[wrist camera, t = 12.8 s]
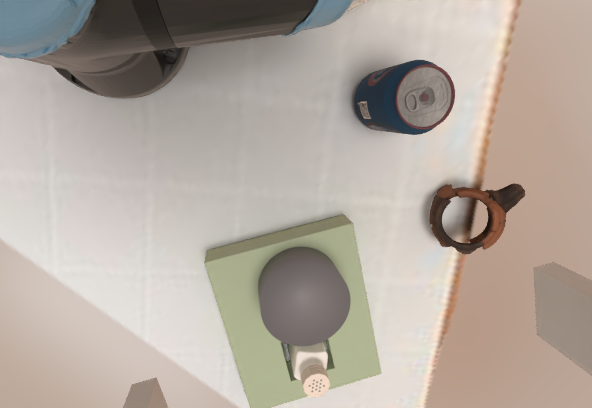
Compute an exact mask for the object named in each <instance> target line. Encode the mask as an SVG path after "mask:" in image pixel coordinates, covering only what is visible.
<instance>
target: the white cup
mask: <svg viewBox="0 0 592 408" xmlns="http://www.w3.org/2000/svg"><path fill="white" fill-rule="evenodd" d="M366 1H368V0H353V2H352V3H351V5H350V7H349V8H348V9H347V10H346V11H349V10H351V9H353V8H355V7H357V6H359V5H361V4H363V3H365V2H366Z"/></svg>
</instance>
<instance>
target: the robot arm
mask: <svg viewBox="0 0 592 408" xmlns="http://www.w3.org/2000/svg"><path fill="white" fill-rule="evenodd" d="M352 2H353V0H0V55H2V56H4V57H7V58H21V59H25V60H30V61H34V62H38V63H42V64H46V65H51V66H52V67H53V68H54V69H55V70H56V71H57V72H59V73H60V74H61V75H62V76H63V77H65V78H66V79H67V80H69V81H70V82H72V83H73V84H75V85H77V86H78V87H80V88H82V89H84V90H86V91H89V92H91V93H94V94H98V95H101V96H106V97H113V98H136V97H141V96H145V95H148V94H150V93H153V92H155V91H157V90H159V89H160V88H162V87H163V86H165V85H166V84H167V83H168V82H169V81H170V80H171V79H172V78H173V77H174V76H175V75H176V74H177V72H178V71H179V69H180V68H181V66H182V64H183V62H184V60H185V58H186V55H187V52H188V48H189V46H196V45H204V44H212V43H220V42H228V41H235V40H243V39H251V38H259V37H267V36H274V35H282V36H290V35H291V34H296V33H298V32H300V31H301V30H306V29H311V28H316V27H322V26H326V25H328V24H331V23H333V22H334V21H336V20H337V19H339V18H340V17H341V16H342V15H343V14H344V13H345V12H346V10H347V9H348V8H349V7H350V5H351V3H352ZM534 286H535V307H536V326H537V335H538V336H539V337H541V338H542V339H543V340H545V341H546V342H547V343H549V344H550V345H551V346H553V347H554V348H555V349H557V350H558V351H559V352H561V353H562V354H563V355H565V356H566V357H567V358H569V359H570V360H571V361H573V362H574V363H575V364H577V365H578V366H579V367H581V368H582V369H584V370H585V371H586V372H588V373H589V374H590V375H591V376H592V280H590V279H588V278H586V277H584V276H582V275H580V274H577V273H575V272H573V271H571V270H569V269H567V268H565V267H563V266H561V265H559V264H557V263H554V262H552V263H548V264H545V265H542V266H538V267H535V268H534ZM123 408H168V406H167V403H166V401H165V398H164V396H163V393H162V391H161V388H160V386H159V383H158V380H157V378H153V379H150V380H146V381H143V382H139V383H136V384H133V385H132V386H131V389H130V391H129V394H128V396H127V399H126V402H125V404H124V407H123Z"/></svg>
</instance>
